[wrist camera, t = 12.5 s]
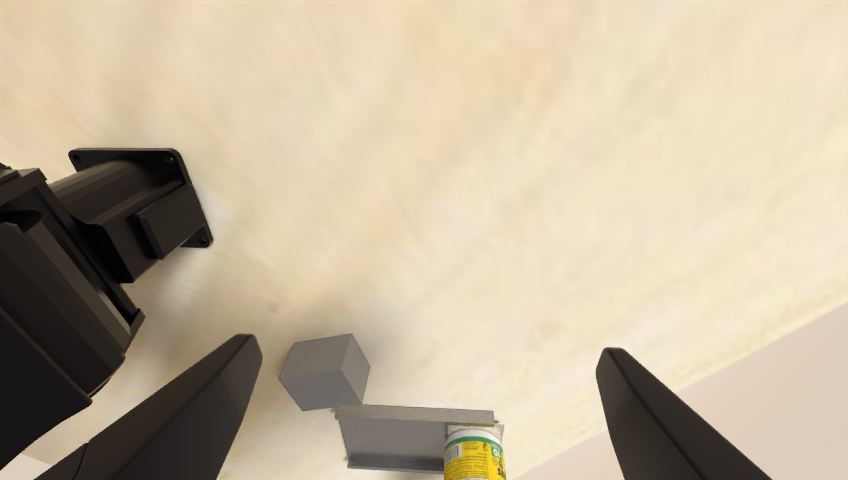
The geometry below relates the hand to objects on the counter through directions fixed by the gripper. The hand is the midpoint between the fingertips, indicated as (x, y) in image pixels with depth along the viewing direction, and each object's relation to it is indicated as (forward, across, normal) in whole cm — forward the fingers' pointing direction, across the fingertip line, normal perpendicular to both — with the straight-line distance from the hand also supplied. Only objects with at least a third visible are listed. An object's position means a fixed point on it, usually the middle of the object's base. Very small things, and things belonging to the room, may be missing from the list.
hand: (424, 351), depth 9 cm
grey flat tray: (+13, +2, +27) cm, 30 cm away
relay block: (+13, +8, +16) cm, 22 cm away
